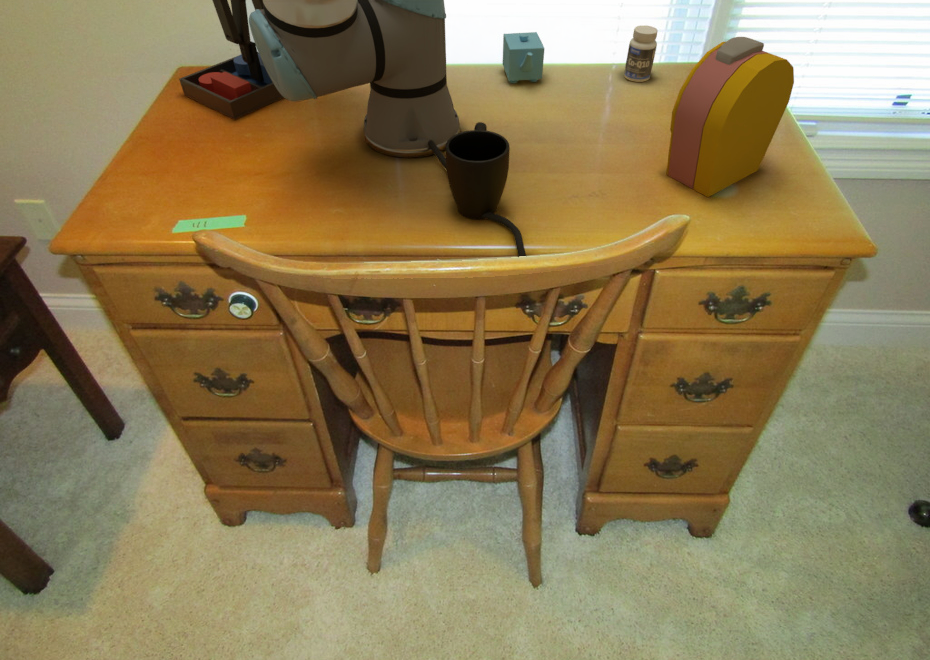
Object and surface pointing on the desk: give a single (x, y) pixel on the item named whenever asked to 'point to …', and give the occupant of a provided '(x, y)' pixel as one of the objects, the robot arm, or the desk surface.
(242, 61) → the blue round-headed block
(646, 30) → the pill bottle
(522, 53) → the teapot
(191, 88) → the organizer
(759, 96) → the alarm clock
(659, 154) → the desk surface
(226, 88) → the red rounded-end block
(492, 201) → the mug
